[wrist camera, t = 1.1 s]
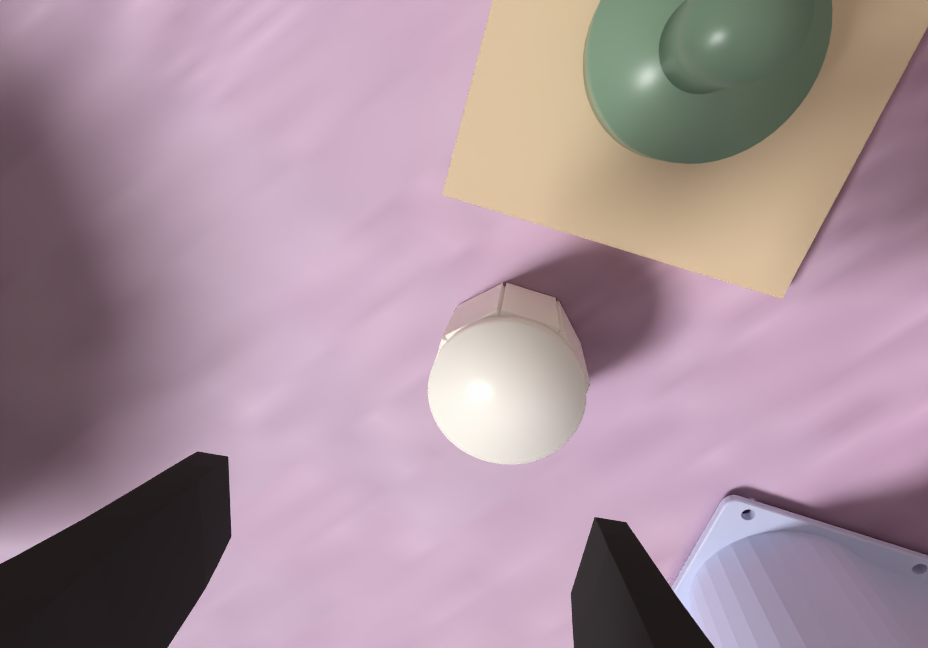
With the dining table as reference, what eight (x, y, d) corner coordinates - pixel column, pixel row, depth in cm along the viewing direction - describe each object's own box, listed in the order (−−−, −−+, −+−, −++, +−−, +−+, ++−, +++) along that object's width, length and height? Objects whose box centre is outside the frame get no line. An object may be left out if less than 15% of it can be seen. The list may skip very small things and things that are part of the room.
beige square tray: (986, -118, 14) (1275, -280, 9) (771, 292, 18) (872, 357, 13) (559, -239, 14) (575, -472, 9) (445, 192, 18) (409, 214, 13)
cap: (595, 310, 19) (610, 351, 15) (551, 421, 21) (555, 482, 17) (466, 270, 19) (451, 301, 16) (433, 384, 21) (412, 437, 17)
